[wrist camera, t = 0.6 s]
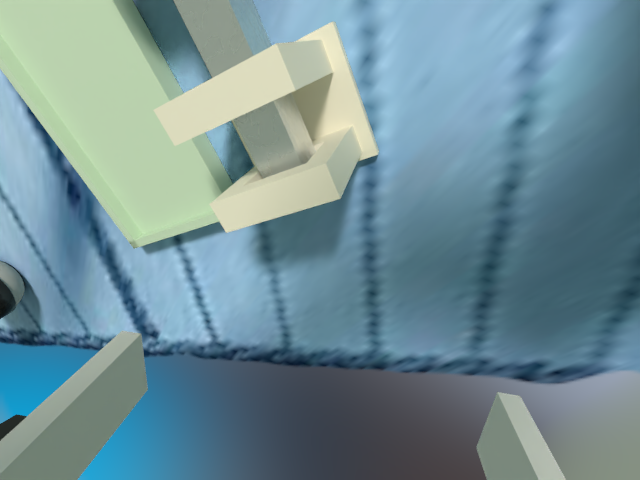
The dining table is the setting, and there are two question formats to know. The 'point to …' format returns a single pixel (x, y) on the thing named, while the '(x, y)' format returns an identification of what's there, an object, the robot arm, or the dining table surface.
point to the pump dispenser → (9, 289)
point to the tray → (111, 111)
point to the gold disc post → (233, 48)
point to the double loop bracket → (316, 111)
